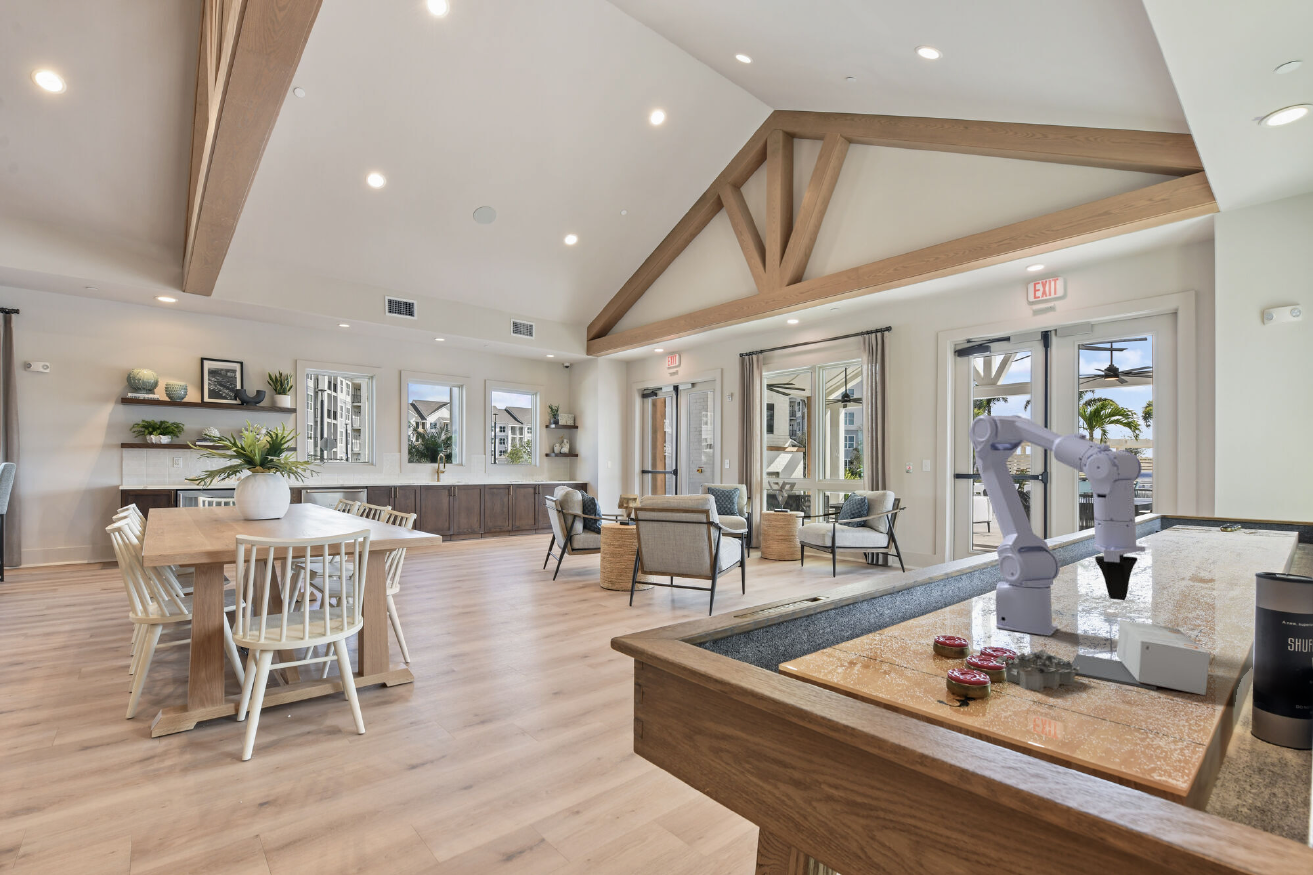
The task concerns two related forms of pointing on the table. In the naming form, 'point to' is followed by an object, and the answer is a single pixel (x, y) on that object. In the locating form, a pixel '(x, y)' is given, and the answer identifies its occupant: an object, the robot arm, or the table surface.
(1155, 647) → the small box
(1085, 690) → the table surface
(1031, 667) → the egg carton
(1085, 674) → the mat
